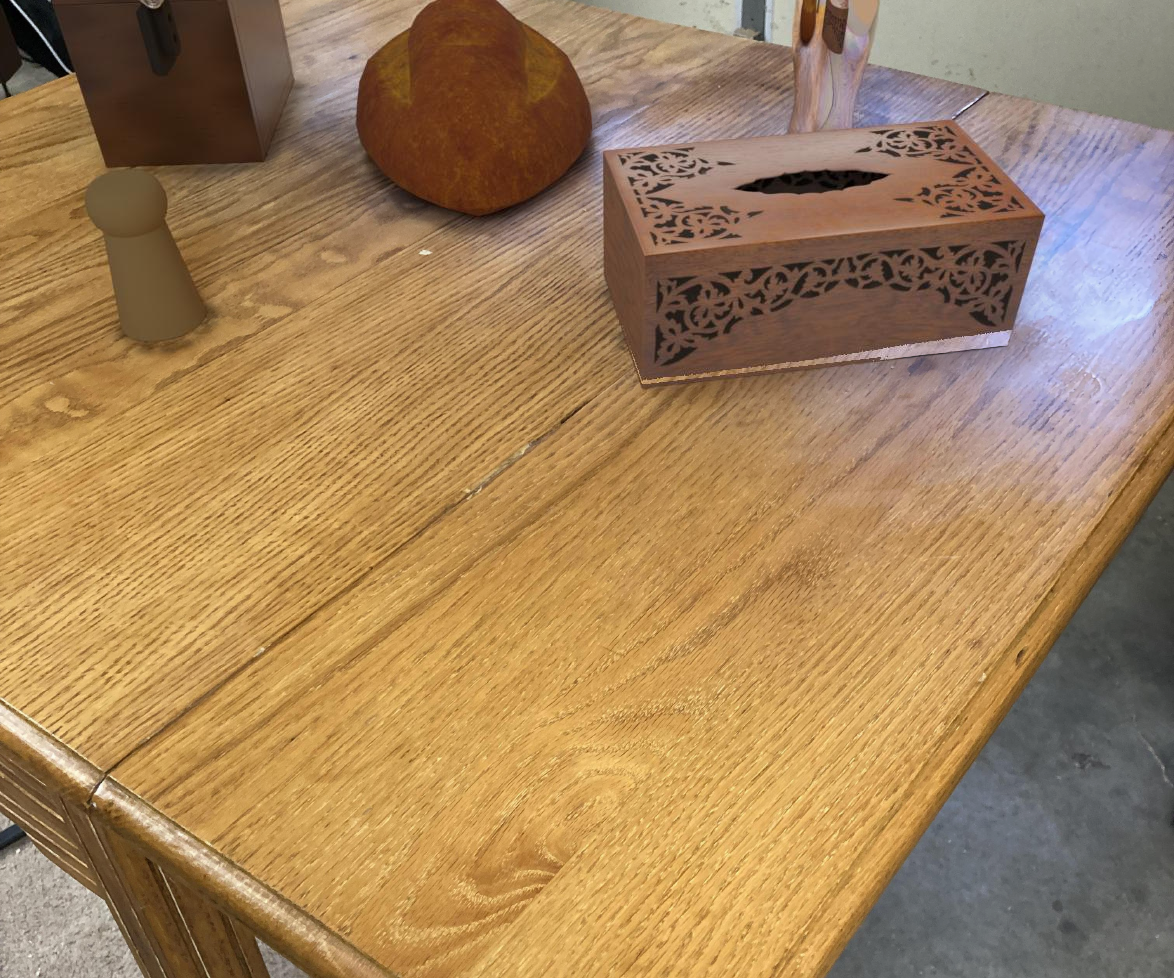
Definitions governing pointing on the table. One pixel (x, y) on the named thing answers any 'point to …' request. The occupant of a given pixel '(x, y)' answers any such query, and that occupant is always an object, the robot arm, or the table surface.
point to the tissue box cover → (810, 246)
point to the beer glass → (829, 61)
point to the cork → (143, 256)
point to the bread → (472, 108)
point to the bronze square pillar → (181, 80)
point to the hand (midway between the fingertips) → (88, 71)
